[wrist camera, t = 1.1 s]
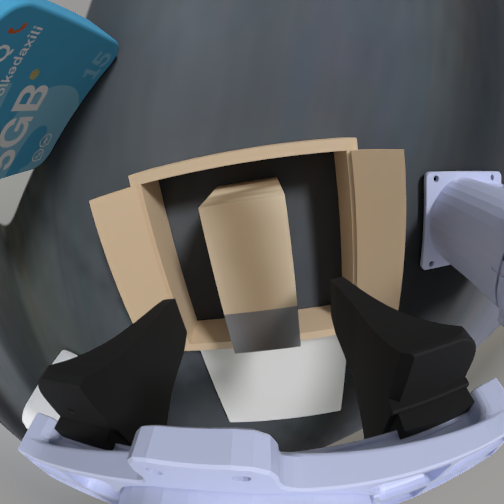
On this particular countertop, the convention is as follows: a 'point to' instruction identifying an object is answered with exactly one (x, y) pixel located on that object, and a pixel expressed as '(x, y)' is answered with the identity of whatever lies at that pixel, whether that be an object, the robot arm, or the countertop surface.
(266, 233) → the capped block
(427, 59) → the countertop surface
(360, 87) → the countertop surface
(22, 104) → the data package
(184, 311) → the carton
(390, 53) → the countertop surface
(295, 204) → the countertop surface
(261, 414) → the mat
